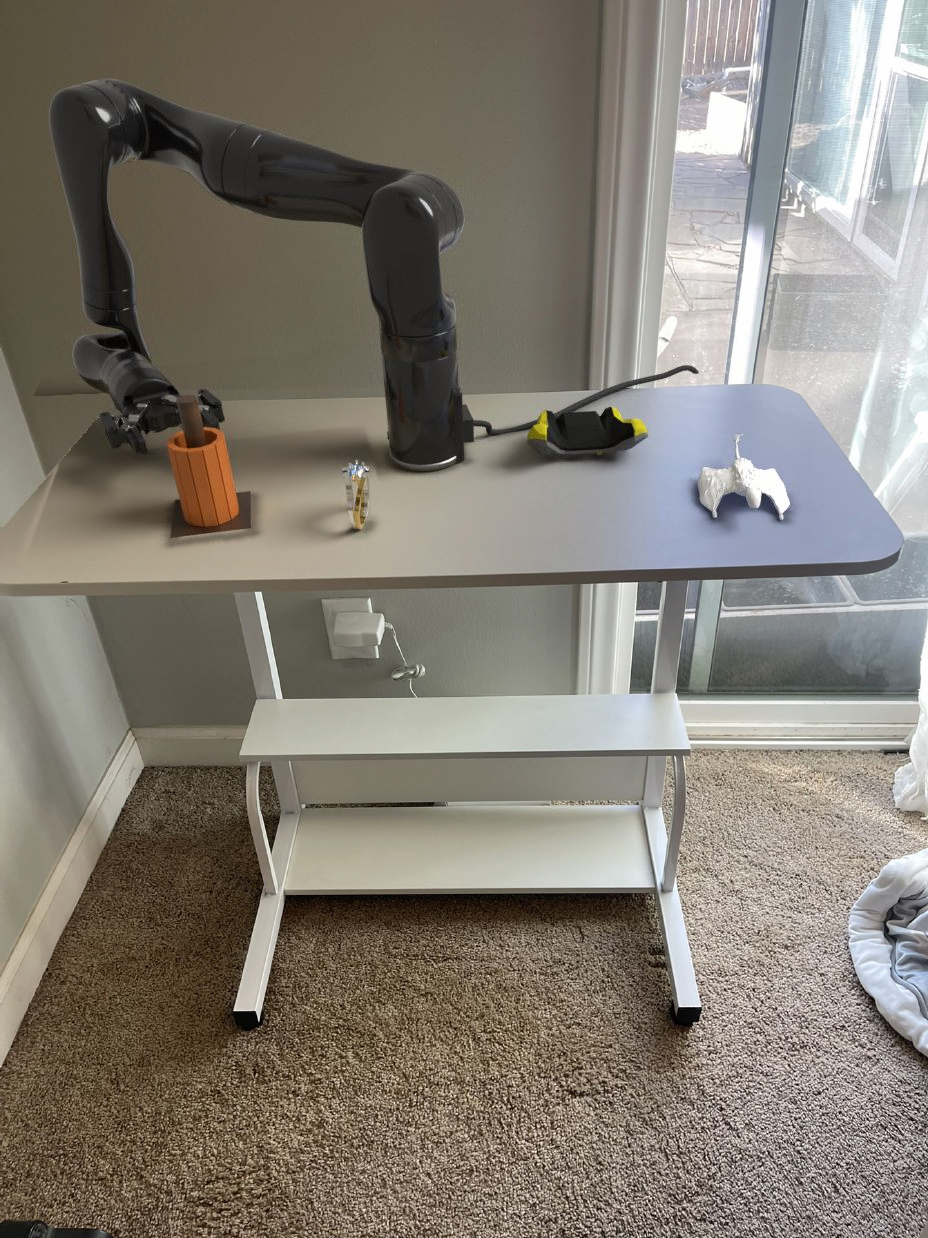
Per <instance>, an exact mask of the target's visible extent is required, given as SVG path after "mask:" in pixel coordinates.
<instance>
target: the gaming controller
mask: <svg viewBox="0 0 928 1238" xmlns="http://www.w3.org/2000/svg"><path fill="white" fill-rule="evenodd" d="M537 419H538V421H537V425H533V427H532V428H530V429H529V431H528V433H527V435H526V436H527V437H526V439H527V440H526V445H527V446H528V447H529V448H531V449H532V450H534V451H536V452H537V453H539V454H541V455H558V456H559V457H561V458H563V459H572V458H576V457H577V455H581V454H596V455H597V456H600V455H601V456H602V455H603V453H610V452H620V451H622V452H623V451H628V450H631V449H633V448H635V447H636V446H637V445H638V444H640V443H641V442H643V441H644V440H645V439H647V438H649V434H648V428H647V427H646V425H645V423H644V422H643V420H642V419H639V418H625V419H623V417H622V415H621V413H620V411H619V410H618V409H617V408H616V407H613V406H612V405H609V406H606V407H605V408H604V410H603V411H602V412H601V415H600V414H599V413H598V412H597V410H589V411H587V410H586V411H585V410H584V411H572V412H566V413H562V414H561V415H560V416H559V417H558V418H556V417H555V415H554V412H553V411H552V410H550V409H546V408H545V409H544V410H543V411H542V412H541V413H540V414H539V416H538V417H537Z"/></svg>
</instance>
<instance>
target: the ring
mask: <svg viewBox="0 0 928 1238" xmlns="http://www.w3.org/2000/svg"><path fill="white" fill-rule="evenodd" d="M354 462H355V464H353V463H352V462H348V465H347V466H344V467H342V468H341V473H342V476H343V480H344V485H345V491H346V502H347V511H348V512H347V513H348V518H349V522H350V525H351V527H352V528H353V529H354V530H360V531H361V530H362V529H363V526H364V525H365V523H366V520H367V517H368V515H369V511H370V481H369V474H370V471H371V467H370V465H366V463H365V462H363V461H362V462H361V465H360V463H359V462H360V461H359V459H355V461H354ZM352 482H353V483H356V484H357V491H356V497H354V489H353V483H352Z"/></svg>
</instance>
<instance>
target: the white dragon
mask: <svg viewBox="0 0 928 1238" xmlns="http://www.w3.org/2000/svg"><path fill="white" fill-rule="evenodd" d="M744 435H745V433H742V434H737V433H736V435H735V436H734V439H733V442H734V443H735V444H734V458H735V459H734V460H733V462H731V466H729V467H726V468H725V467H723V468H722V469H721V468H719V469H716V468H712V467H707V466H704V467H702V468H701V471H700V473H699V476H698V479H697V487H698V493H699V501H700V503H701V505H702V506H704V507H705V508H706V509H708V510H709V511H711V513H712V517H713V519H717V518H718V512H717V508H718V506H719V504H720V502H721V500H722V498H723V496H726V495H729V494H731V493H735V494H737V495H739V496H741V497H745V499H746V502H747V506H748V507H749V508H751V509H758V508H759V507H760V506H761V502H762V494H764V495H766V496H767V497H768V498H770V500H771V502H772V503H773V505H774V507H775V509H776V511H777V512H778V519H779V521H783V520H784V512H786V510H787V509H788V508H789V507H790V504H791V502H790V499H789V497H788V493H787V490H786V486H785V484H784V482H783V481H782V479H781V478H780V476H779V474H778V472H777V471H776V469H775V468H772V467H771V468H768V469H762V468H757V467H756V466H754V465H753V463H752V460H750V459H747V458H745V457H740V454H739V446H738V442H739V441H740V440H741V438H742V436H744Z"/></svg>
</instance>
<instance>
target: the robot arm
mask: <svg viewBox="0 0 928 1238" xmlns="http://www.w3.org/2000/svg"><path fill="white" fill-rule="evenodd" d="M48 126H49V132H50V133H49V134H50V139H51V144H52V148H53V153H54V156H55V161H56V164H57V165H56V166H57V169H58V173H59V177H60V180H61V185H62V189H63V193H64V197H65V201H66V204H67V208H68V212H69V216H70V221H71V225H72V228H73V232H74V237H75V242H76V247H77V248H76V249H77V254H78V265H79V276H80V278H79V279H80V288H81V289H80V291H81V302H82V309H83V313H84V315H85V317H86V319H88V321H90V322H91V323H93V324H95V325H97V326H101V327H104V328H111V329H115V330H119V331H110V332H93V333H86V334H83V335H81V336H80V337H79V338H77V339H76V341H75V342H74V344H73V347H72V351H71V352H72V353H71V354H72V355H71V356H72V362H73V365H74V368H75V370H76V372H77V374H78V375H79V377H80V378H81V379H82V380H83V381H84V383H86V384H87V385H89V386H90V387H91V388H92V389H95V390H98V391H100V392H103V393H105V394H108V395H109V396H110V398H111V401H112V402H113V405H114V407H115V408H116V410H117V411H119V412H120V414H119V415H115V414H111V413H110V412H109V411H103V412H100V413H99V418H100V422H101V425H102V428H103V432H104V434H105V436H106V439H107V441H108V443H109V445H110V447H111V448H112V449H121V448H122V447H123V445H124V444H126V445H127V447H130V448H131V450H132V451H133V453H135V454H139V453H140V455H141V456H142V457H143V456H147V455H149V451H148V447H147V443H146V441H147V440H148V438H149V437H150V436H151V435H152V434H157V433H161V432H164V431H166V430H168V429H171V428H173V429H175V428H182V424H181V420H180V415H179V411H178V407H177V402H176V399H177V398H179V397H181V396H183V395H181V393H180V392H179V390H178V389H177V388H176V386H175V385H173V383H172V382H171V381H170V380H169V379H168V377H166V376H165V374H164V373H163V372H162V371H161V370H160V369H158V367H156V366H155V365H154V364H153V359H152V354H151V350H150V348H149V345H148V343H147V340H146V337H145V335H144V332H143V329H142V325H141V321H140V318H139V313H138V305H137V285H136V284H137V283H136V282H137V281H136V279H137V278H136V268H135V262H134V258H133V255H132V253H131V250H130V246H129V245H128V243H127V242H126V239H125V238H124V236H123V235H122V233H121V231H120V229H119V227H118V225H117V224H116V222H115V219H114V217H113V214H112V211H111V207H110V201H109V180H110V179H109V178H110V170H112V169H114V168H117V167H120V166H122V165H125V164H129V163H131V162H139V161H140V162H148V163H149V162H150V163H154V164H159V165H163V166H167V167H171V168H174V169H177V170H179V171H181V172H185V173H186V174H188V175H189V176H190V177H191V178H192V179H193V180H194V181H195V182H196V183H197V184H198V185H199V186H200V187H201V188H202V189H203V190H204V191H205V192H206V193H208V195H210V196H211V197H213V198H214V199H215V200H217V201H219V202H221V203H223V204H224V205H227V206H229V207H232V208H234V209H235V208H236V209H238V210H241V211H245V212H247V213H251V214H254V215H258V216H260V217H262V218H263V217H265V218H268V219H272V220H273V219H274V220H279V221H288V222H302V223H305V222H306V223H330V224H331V223H332V224H343V225H349V226H352V227H356V228H360V229H361V239H362V249H363V258H364V265H365V272H366V273H365V274H366V279H367V280H366V281H367V288H368V294H369V298H370V301H371V304H372V306H373V308H374V310H375V312H376V314H377V318H378V319H377V320H378V329H379V330H378V331H379V341H380V353H381V365H382V375H383V386H384V387H383V389H384V398H385V409H386V410H385V411H386V421H387V432H386V435H387V440H388V447H389V449H388V453H389V460H390V462H391V463H392V464H394V465H395V466H396V467H398V468H401V469H404V470H407V471H414V472H430V471H437V470H441V469H446V468H448V467H450V466H452V465H454V464H455V463H460V462H464V461H465V444H466V443H475V427H479V428H480V427H481V428H482V427H483V428H484V429H485V432H486V434H487V435H490V436H501V435H505V434H512V433H516V432H517V433H518V432H522V431H523V432H524V431H527V430H531V428H532V427H533V425H537V421H538V418H537V419H535V420H531V421H529V422H525V423H522V424H519V425H517V426H513V427H509V428H504V429H503V428H502V429H495V428H493V426H492V424H491V422H489V421H486V420H482V419H480V420H479V419H474V418H473V415H472V414H471V412H470V410H469V408H468V405H467V404H466V403H463V402H464V401H463V391H462V388H461V386H460V384H459V363H458V360H459V359H458V337H457V334H458V333H457V310H456V309H457V308H456V307H457V306H456V302H455V300H454V298H453V297H452V296H451V295H450V294H448V293H447V292H444V291H443V285H442V275H441V274H442V273H441V262H440V261H441V260H440V257H441V256H443V255H444V254H445V253H446V252H448V251H449V250H450V249H451V248H452V247H453V246H454V245H455V244H456V243H457V241H458V240H459V239H460V238H461V235H462V233H463V231H464V227H465V221H466V215H465V209H464V206H463V203H462V200H461V198H460V197H459V195H458V193H457V192H456V191H455V189H454V188H453V187H452V186H451V185H450V184H449V183H448V182H447V181H445V180H444V179H443V178H441V177H439V176H438V175H436V174H433V173H430V172H427V171H422V170H415V169H409V168H403V167H397V166H391V165H386V164H379V163H375V162H369V161H365V160H360V159H356V158H353V157H350V156H347V155H345V154H341V153H339V152H337V151H334V150H331V149H328V148H325V147H322V146H319V145H316V144H313V143H310V142H307V141H303V140H301V139H298V138H294V137H291V136H288V135H285V134H283V133H280V132H277V131H274V130H271V129H267V128H264V127H261V126H257V125H254V124H250V123H247V122H244V121H238V120H234V119H230V118H228V117H225V116H220V115H217V114H213V113H210V112H206V111H203V110H197V109H193V108H189V107H186V106H182V105H180V104H177V103H175V102H173V101H170V100H168V99H166V98H163V97H161V96H158V95H156V94H154V93H151V92H150V91H147V90H145V89H143V88H141V87H139V86H137V85H134V84H132V83H129V82H127V81H124V80H120V79H116V78H98V79H95V80H90V81H87V82H81V83H79V84H75V85H72V86H68V87H65V88H62V89H61V90H59V91H57V92H56V93H55V94H54V95H53V97H52V99H51V100H50V105H49V108H48ZM686 371H688V372H689V373H692V374H694V375H698V374H700V371H699V370H698V369H697V367H695V366H693V365H690V364H685V365H679V366H677V367H674V368H672V369H670V370H667V371H665V372H662V373H657V374H653V375H649V376H645V377H640V378H636V379H631V380H627V381H625V382H620V383H618V384H615V385H612V386H609V387H607V388H605V389H602V390H599V391H598V392H595V393H594V394H592V395H589V396H587V397H585V398H583V399H581V400H578V401H575V402H574V403H573V404H571V405H568V406H567V407H565V408H563V409H560V410H559V411H556V412H553V414H554V415H555V417H556V418H558V417H559V416H560V415H561V414H562V413H566V412H574V411H575V410H577V409H579V408H581V407H584V406H585V405H586V406H587V405H588V404H590V403H593V402H595V401H596V400H598V399H601V398H602V397H605V396H607V395H609V394H612V393H614V392H618V391H620V390H621V391H622V390H623V389H627V388H630V387H631V388H632V387H635V386H638V385H642V384H647V383H652V382H655V381H660V380H664V379H667V378H670V377H673V376H674V375H678V374H679V373H682V372H686ZM196 397H197V400H198V405H199V410H200V414H201V419H202V424H203V428H204V427H209V428H216V429H218V430H220V431H221V428H220V423H223V422H225V421H226V417H225V415H224V410H223V403H222V401H221V400H220V399H219V398H218V397H217V396H215V395H214V394H213V393H211V392H210V391H209V390H208V389H206V388H201V389H199V390H197V396H196Z"/></svg>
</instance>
